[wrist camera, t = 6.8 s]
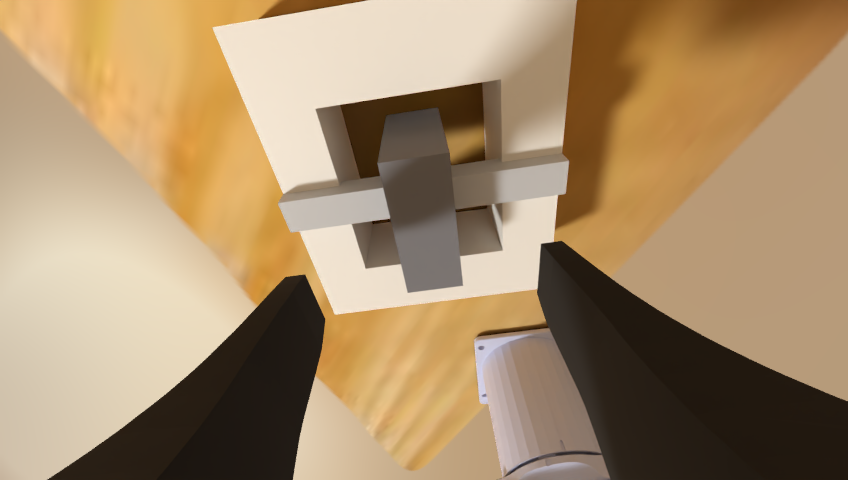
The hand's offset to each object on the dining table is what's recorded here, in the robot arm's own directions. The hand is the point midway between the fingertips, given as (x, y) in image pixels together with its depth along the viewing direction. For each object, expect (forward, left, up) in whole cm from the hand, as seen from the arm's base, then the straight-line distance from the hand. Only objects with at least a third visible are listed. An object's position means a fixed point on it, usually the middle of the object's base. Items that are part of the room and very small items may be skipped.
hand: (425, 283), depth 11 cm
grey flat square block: (0, 0, -8) cm, 8 cm away
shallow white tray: (0, 0, -10) cm, 10 cm away
